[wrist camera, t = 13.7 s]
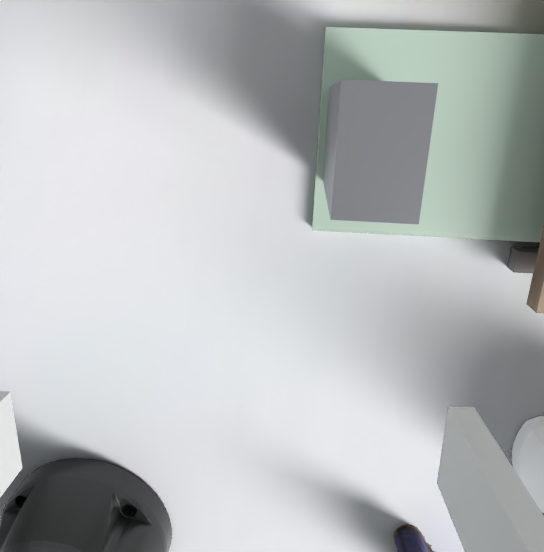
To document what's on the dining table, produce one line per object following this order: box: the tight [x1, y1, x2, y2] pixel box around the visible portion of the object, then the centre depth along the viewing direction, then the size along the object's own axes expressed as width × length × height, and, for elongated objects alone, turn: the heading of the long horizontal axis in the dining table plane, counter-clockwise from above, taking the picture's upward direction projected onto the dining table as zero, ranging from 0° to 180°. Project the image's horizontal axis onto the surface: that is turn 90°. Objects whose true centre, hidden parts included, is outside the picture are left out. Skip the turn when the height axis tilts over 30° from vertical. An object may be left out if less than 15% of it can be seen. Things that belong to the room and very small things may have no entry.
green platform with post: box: [312, 27, 544, 242], centre depth 28 cm, size 13×22×13 cm, turn 88°
